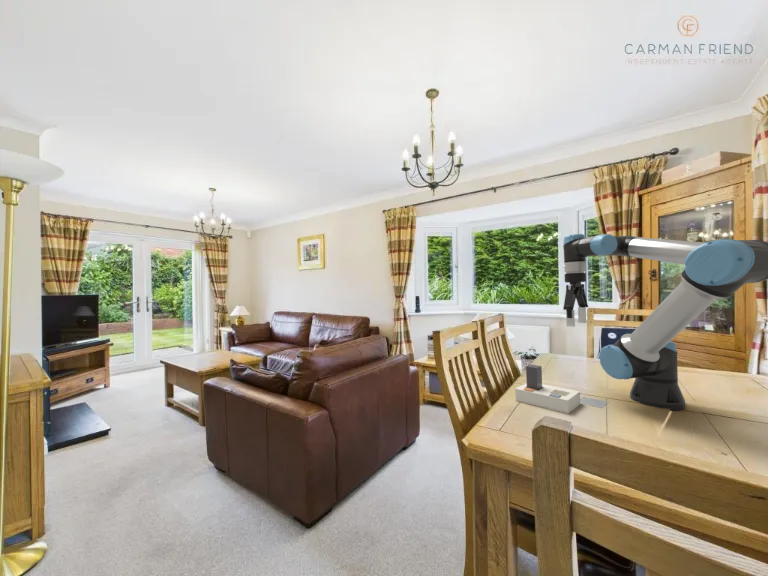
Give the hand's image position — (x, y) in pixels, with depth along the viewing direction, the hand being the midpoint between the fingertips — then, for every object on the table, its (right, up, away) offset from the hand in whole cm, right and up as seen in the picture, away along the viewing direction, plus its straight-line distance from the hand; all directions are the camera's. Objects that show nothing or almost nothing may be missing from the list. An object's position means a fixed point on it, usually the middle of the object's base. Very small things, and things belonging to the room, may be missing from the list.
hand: (576, 324), depth 130 cm
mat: (-4, -27, -15) cm, 31 cm away
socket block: (-19, -28, -14) cm, 36 cm away
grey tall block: (-22, -27, -10) cm, 36 cm away
